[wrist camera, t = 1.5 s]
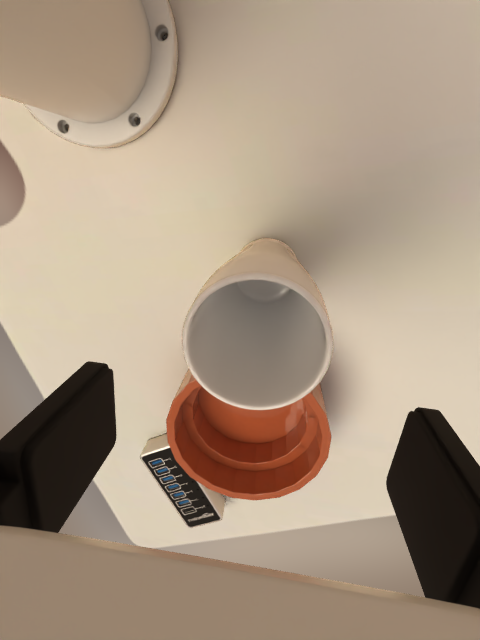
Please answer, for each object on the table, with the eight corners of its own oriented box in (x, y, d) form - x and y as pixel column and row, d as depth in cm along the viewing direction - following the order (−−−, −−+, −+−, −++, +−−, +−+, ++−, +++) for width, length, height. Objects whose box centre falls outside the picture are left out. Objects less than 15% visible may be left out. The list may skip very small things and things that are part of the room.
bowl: (158, 375, 34) (134, 413, 28) (274, 308, 30) (273, 336, 24) (233, 468, 37) (225, 518, 31) (346, 418, 33) (360, 465, 28)
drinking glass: (230, 309, 30) (190, 414, 16) (222, 231, 28) (167, 276, 14) (308, 305, 29) (335, 412, 15) (306, 224, 27) (337, 266, 13)
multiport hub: (180, 428, 36) (174, 444, 34) (226, 502, 39) (223, 520, 37) (145, 440, 37) (137, 456, 35) (193, 510, 40) (188, 529, 38)
